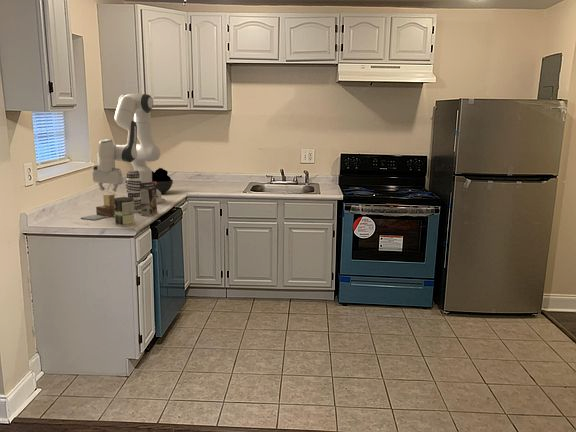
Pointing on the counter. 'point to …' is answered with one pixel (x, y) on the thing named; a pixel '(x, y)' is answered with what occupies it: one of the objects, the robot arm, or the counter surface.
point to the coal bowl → (161, 180)
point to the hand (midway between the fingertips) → (108, 190)
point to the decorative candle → (134, 188)
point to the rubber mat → (93, 217)
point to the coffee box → (148, 201)
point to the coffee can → (124, 211)
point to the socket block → (105, 211)
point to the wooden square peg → (109, 200)
